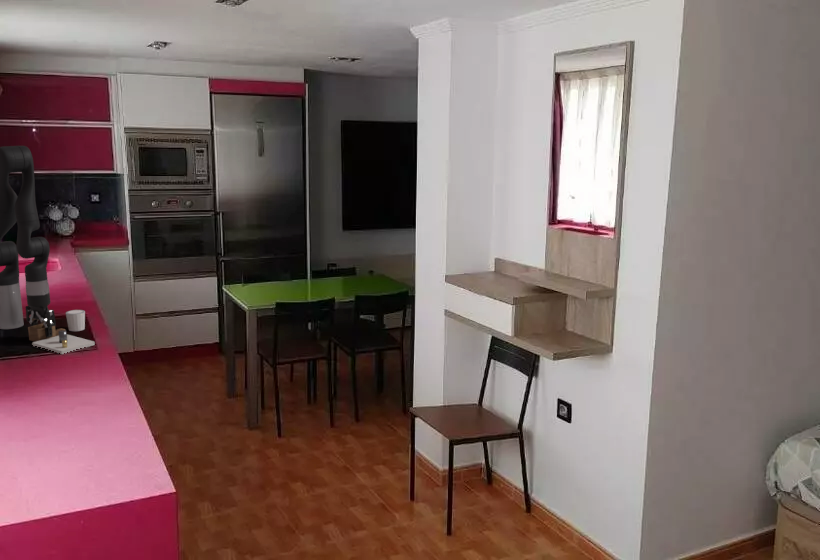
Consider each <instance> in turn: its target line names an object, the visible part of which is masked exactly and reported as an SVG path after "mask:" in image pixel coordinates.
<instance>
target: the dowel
mask: <svg viewBox="0 0 820 560" xmlns="http://www.w3.org/2000/svg"><path fill="white" fill-rule="evenodd" d="M62 348H67V340H62Z"/></svg>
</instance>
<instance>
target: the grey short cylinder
mask: <svg viewBox="0 0 820 560" xmlns="http://www.w3.org/2000/svg"><path fill="white" fill-rule="evenodd" d="M65 317H66V323H67V328H68V331H69V332H80V331H84V330H85V329H86V328H85V327H86V324H85V322H86V311H85V310H83V309H72V310H68V311H66V312H65Z"/></svg>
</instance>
